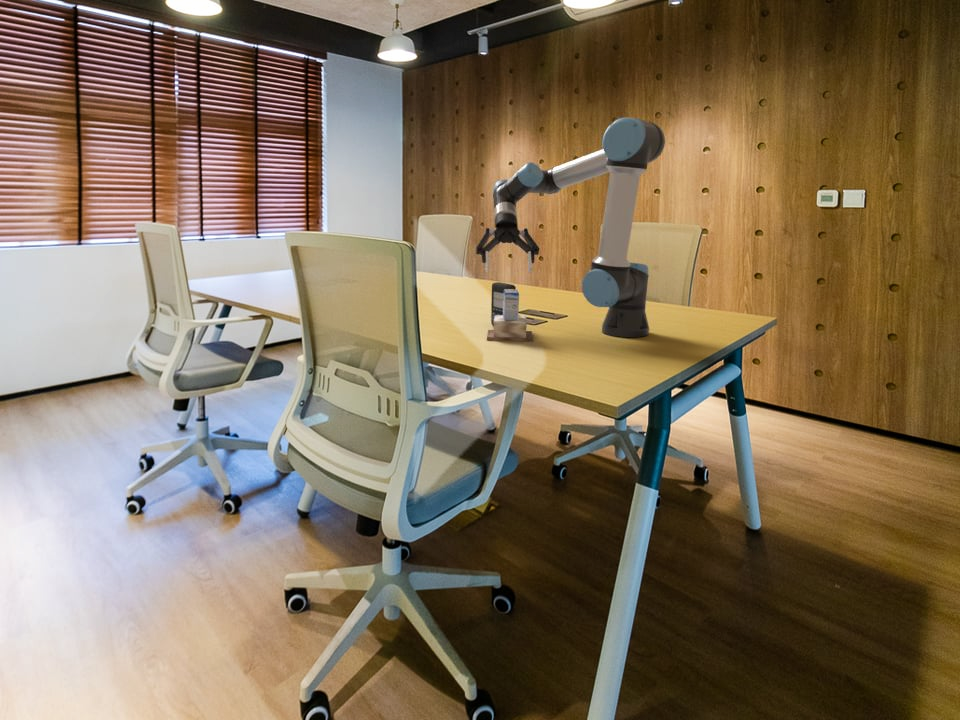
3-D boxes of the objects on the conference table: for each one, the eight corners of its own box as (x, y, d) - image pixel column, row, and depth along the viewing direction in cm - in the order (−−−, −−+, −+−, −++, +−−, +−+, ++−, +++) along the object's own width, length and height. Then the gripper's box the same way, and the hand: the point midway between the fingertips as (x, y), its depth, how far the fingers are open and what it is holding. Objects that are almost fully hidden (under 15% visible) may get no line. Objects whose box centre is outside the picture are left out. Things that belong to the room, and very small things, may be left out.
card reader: (489, 326, 207) (490, 282, 203) (498, 324, 210) (499, 281, 206) (506, 330, 200) (507, 285, 196) (515, 329, 202) (516, 284, 199)
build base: (531, 334, 196) (532, 315, 194) (532, 341, 185) (533, 322, 184) (488, 332, 196) (488, 314, 195) (486, 340, 186) (487, 321, 184)
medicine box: (502, 316, 193) (503, 288, 191) (516, 316, 193) (517, 289, 191) (504, 320, 185) (504, 292, 183) (518, 320, 185) (519, 292, 183)
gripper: (541, 227, 205) (546, 277, 194) (467, 227, 203) (468, 277, 193) (544, 212, 198) (549, 262, 187) (468, 211, 197) (469, 262, 186)
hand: (508, 270), depth 190 cm, fingers open, 13 cm apart
